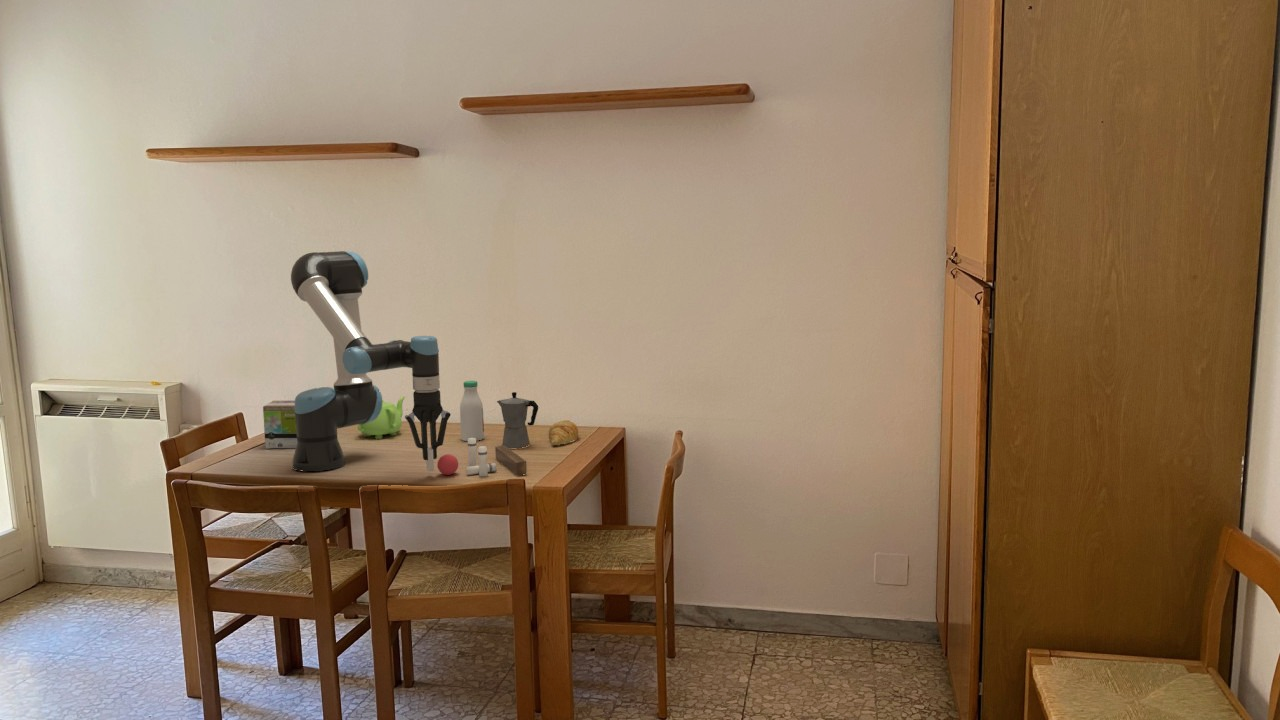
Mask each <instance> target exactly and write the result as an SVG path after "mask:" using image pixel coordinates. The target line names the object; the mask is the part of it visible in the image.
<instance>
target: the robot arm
mask: <svg viewBox="0 0 1280 720" xmlns="http://www.w3.org/2000/svg"><path fill="white" fill-rule="evenodd" d="M368 280H369V270H368V267H367V264H366V261H365V260H364V258H363V257H361V255H360V254H359V253H357V252H354V251H346V250H340V251H323V252H309V253H306V254H303V255H301V256H300V257H299V258H298V259H297V260H296V261H295V262H294V264H293V266H292V269H291V273H290V282H291V286H292V289H293V290H294V293H295V294H296V295H297V296H298V298H299V299H300V300H301V301H303V302H306V303H307V304H308V306H309V307H310V308H311V310H312V311H313V312H314V313H315V315H316V316H317V317H318V319H319V321H320V322H321V323H322V324H323V326H324V327H325V328H326V330H327V331H328V333H329V334H330V335H331V337H332V338H333V348H334V355H335V363H336V373H337V379H336V381H334V383H333V387H329V386H325V387H316V388H311V389H307V390H304V391H302V392H299V393H298V394H297V395H296V397H295V398H294V401H295V408H294V411H295V418H296V432H297V446H296V448H295V451H294V454H293V459H292V461H291V463H292V469H293V468H294V469H297V470H303V471H320V472H323V471H322V470H328V471H330V470H329V469H333V470H335V469H334V468H337V469H339V468H338V467H340V468H342V467H343V465H344V464H345V465H346V458H345V454H344V451H343V450H342V447H341V445H340V442H339V439H338V429H344V428H347V427H353V426H358V425H359V424H365V423H368V422H371V421H374V420H375V419H376V418H377V417H378V415H379V414H380V412H381V409H382V400H383V396H382V392H381V391H380V388H379V387H378V386H377V385H375V384H373V380H372V378H370V377H369V376H368V375H367V373H371V372H378V371H379V372H380V371H386V370H394V369H399V368H408V369H411V371H412V372H411V373H412V374H411V376H412V390H414V391H413V394H412V395H413V408H412V410H411V411H412V412H410V413H409V414H408V415H407V414H406V415H405V416H404V419H405V420H406V421H407V423H408V424H409V425H408V426H409V427H410V428H409V429H410V431H411V434H412V438H413V440H414V445H415V447H417V448H418V449H421V450H422V459H423V460H424V461H426V470H427V471H428V472H429V473H430V472H435V463H434V462H435V461H434V460H437V458H438V454H437V453H438V450H437V449H438V447H440V446H443V444H444V440H445V435H446V430H447V424H448V421H449V419H450V417H451V413H450V412H449V411H446V410H444V408H443V406H442V404H441V402H442V401H441V391H440V390H439V389H440V388H441V385H440V383H441V382H440V381H441V379H440V359H439V358H440V357H439V351H440V350H439V345H438V343H439V342H438V338H437V337H436V336H434V335H417V336H413V337H411V339H410V341H405V340H403V339H397V340H394V339H393V340H390V341H388V342H386V343H378V344H377V343H376V344H372V342H371V341H370V340H369V338H367V336H366V335H365V333H364V332H363V330H362V325H361V323H362V322H361V316H360V306H359V299H360V297H361V296H362V295H363V288H364V287H366V285H367V284H368ZM440 416H441V419H440V424H439V428H438V429H439V430H438V436H437V420H438V418H439V417H440ZM415 418H417V420H418V421H419V422H420V432H421V433H420V434H421V440H420V437H419V433H418V430H417V427H416V424H415V422H414V421H415ZM428 423H429V432H430V433H429V435H430V446H429V445H428V444H429V443H428V442H429V441H428ZM345 465H344V466H345ZM341 466H342V467H341ZM294 469H293V470H294Z"/></svg>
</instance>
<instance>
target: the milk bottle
mask: <svg viewBox="0 0 1280 720" xmlns="http://www.w3.org/2000/svg"><path fill="white" fill-rule="evenodd" d="M463 390H464V391H463V396H462V398H461V401H460V405H459V410H460V411H459V420H460V421H459V423H460V438H461V440H462V441H463V442H468V438H476V442H479V440H480V441H482V439H483V440H484V439H485V426H484V424H485V422H484V421H485V420H484V407H483V401H482V399H481V397H480V395H479V392H478V381H477V380H465V381H463Z"/></svg>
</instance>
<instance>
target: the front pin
mask: <svg viewBox="0 0 1280 720" xmlns="http://www.w3.org/2000/svg"><path fill="white" fill-rule="evenodd" d="M487 470H488V473H492V472H493V473H494V472H497V471H498V470H497V463H496V462H492V463H487ZM465 473H466V475H467V476H472V475H479V464H477V466H470V467H469V466H466V468H465Z"/></svg>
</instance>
